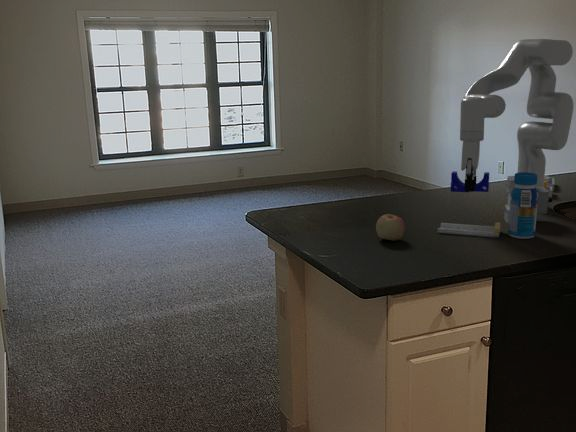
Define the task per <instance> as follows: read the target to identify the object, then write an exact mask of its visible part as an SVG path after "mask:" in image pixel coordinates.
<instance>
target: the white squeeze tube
mask: <svg viewBox="0 0 576 432" xmlns="http://www.w3.org/2000/svg"><path fill="white" fill-rule="evenodd" d="M501 224H502V223H501V222H497V221H496V222H495V223H494V226H490V225H478V224H477V225H476V224H461V223H448V222H440V227H437V234H444V235H445V234H446V235H455V236H457V235H458V236H470V237H482V238H495V239H496V238H497V239H499V237H500V232H501Z"/></svg>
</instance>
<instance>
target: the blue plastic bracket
mask: <svg viewBox="0 0 576 432" xmlns="http://www.w3.org/2000/svg"><path fill="white" fill-rule="evenodd" d="M450 175H451V176H450V177H451V178H450V179H451V181H450V192H453V193H470V192H469V191H465V182H463V181H462V180H461V179H460V178H459V176H458V171H451V174H450ZM489 190H490V172H487V171H486V172H485V171H484V173H483V177H482V179H481V180H480V181H479V182H476V184H475V191H474V192H476V193H477V192H478V193H479V192H481V193H488V192H489Z"/></svg>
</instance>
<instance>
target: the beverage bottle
mask: <svg viewBox="0 0 576 432" xmlns="http://www.w3.org/2000/svg"><path fill="white" fill-rule="evenodd" d="M513 176H514V184H515V185H516V186H515V187H514V189H513V190H512V192H511V198H512V199H511V200H510V216H509V223H508V230H507V231H508V232H507V234H508V236H509V237H512V238H514V239H519V240H520V239H522V240H527V239H533V238H534V237H536V227H537V226H536V225H537V216H538V215H537V214H538V213H537V208H538V201H537V198H538V192H537V190H536V188H535V187H534V186H536V184H537V174H535V173H528V172H520V173H517V172H515V173H514V175H513Z"/></svg>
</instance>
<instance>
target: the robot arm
mask: <svg viewBox="0 0 576 432" xmlns="http://www.w3.org/2000/svg"><path fill="white" fill-rule="evenodd" d="M573 49H574V48H573V46H572V44H571V43H570V42H569V41H568V40H566V39H565V40H564V39H551V38H550V39H549V38H548V39H547V38H531V39H521V40H518V41H515V42H514V43H513V45H512V46H511V47H510V49H509V50H508V51H507V53H506V54H505V56H504V58H503V59H502V61H500V63H499V65H498V66H497V68H495V69H494V70H491V71H490V72H488V73H487V74H485V75H484V76H482V77H480V78H478V79H477V80H476V81H475V82H473V84H471V86H470V87H469V89H468V90H467V92H466V93H465V95H464V96H463V98H462V99H461V101H460V118H459V119H460V123H459V125H460V128H459V140H460V141H462V145H461V148H462V149H461V164H460V170H461V171H462V172H464V171H465V173H464V174H465V176H464V177H465V178H464V183H465V191H469V192H468V193H470V192H472V193H473V192H475V184H477V169H478V168H479V162H480V150H481V149H480V145H481V142H482V141H484V139H485V138H484V136H485V119H489V118H490V119H495V118H499V117H500V116H501V115H502V114H503V113H504V112H505V111H506V106H507V103H506V101H505V99H504V98H503V97H502V96H500V95H499V94H498V95H497V94H493V93H495V92H497V91H498V92H499V91H501V90H505V89H508V88H510V87H513V86H515V85H517V84H518V83H519V82H520V81H521V79H522V77H523V76H524V74H525V72H526V71H527V70H529V72H530V87H529V92H528V97H527V98H528V99H527V101H526V102H527V103H526V113H527V115H528V116H530V117H531V118H536V119H544V120H545V119H546V120H547V119H549V120H552V122H545V121H533V120H532V121H526V122H523V123H521V124H520V125H519V127H518V129H517V131H516V132H517V133H516V139H517V146H518V147H517V148H518V160H517V161H518V163H517V172H516V173H520V172H528V173H535V174H537V184H536V186H535V187H544V177H545V176H546V165H547V162H546V161H547V159H546V156H545V154H544V151H543V150H550V151H561V150H562V149H563V148H564V147H565V146H566V144H567V142H568V139H569V136H570V135H569V134H570V129H571V124H572V119H573V113H574V107H575V106H574V100H573V97H572V96H571V95H570V94H569V93H567V92H561V91H560V92H557V91H556V85H557V75H556V73H555V70H554V69H553V68H552V66H565V65H566V64H568V63H570V61H571V60H572V57H573V54H574V53H573V52H574V50H573Z"/></svg>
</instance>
